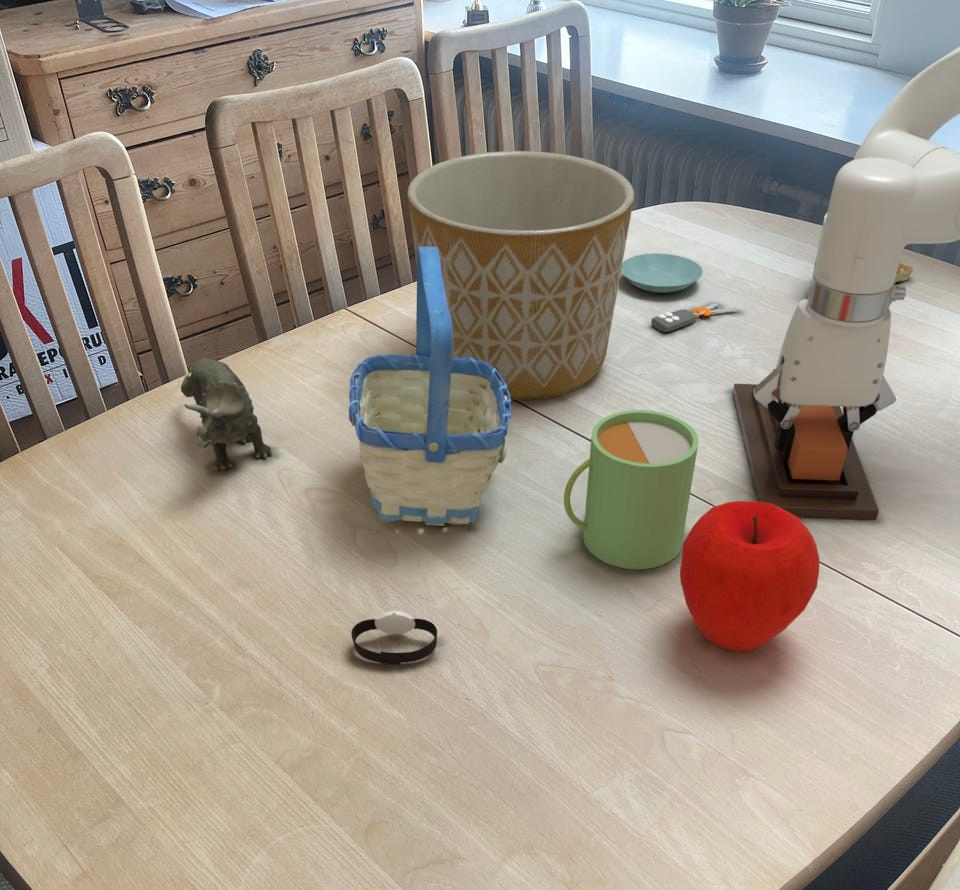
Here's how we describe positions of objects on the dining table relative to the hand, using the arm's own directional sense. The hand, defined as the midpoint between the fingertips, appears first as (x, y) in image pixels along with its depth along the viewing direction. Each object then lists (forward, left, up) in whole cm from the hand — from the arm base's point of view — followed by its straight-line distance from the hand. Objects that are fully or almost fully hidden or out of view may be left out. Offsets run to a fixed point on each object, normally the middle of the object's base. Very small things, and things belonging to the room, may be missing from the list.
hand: (809, 453), depth 115 cm
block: (0, 0, 0) cm, 0 cm away
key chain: (+9, -37, -3) cm, 39 cm away
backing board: (0, -4, -2) cm, 5 cm away
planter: (+33, -23, -3) cm, 41 cm away
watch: (+42, +32, -3) cm, 53 cm away
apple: (+11, +28, -3) cm, 30 cm away
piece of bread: (-18, -52, -3) cm, 55 cm away
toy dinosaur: (+65, -1, -3) cm, 65 cm away
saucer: (+13, -48, -3) cm, 50 cm away
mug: (+21, +14, -3) cm, 25 cm away
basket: (+41, +6, -3) cm, 41 cm away
